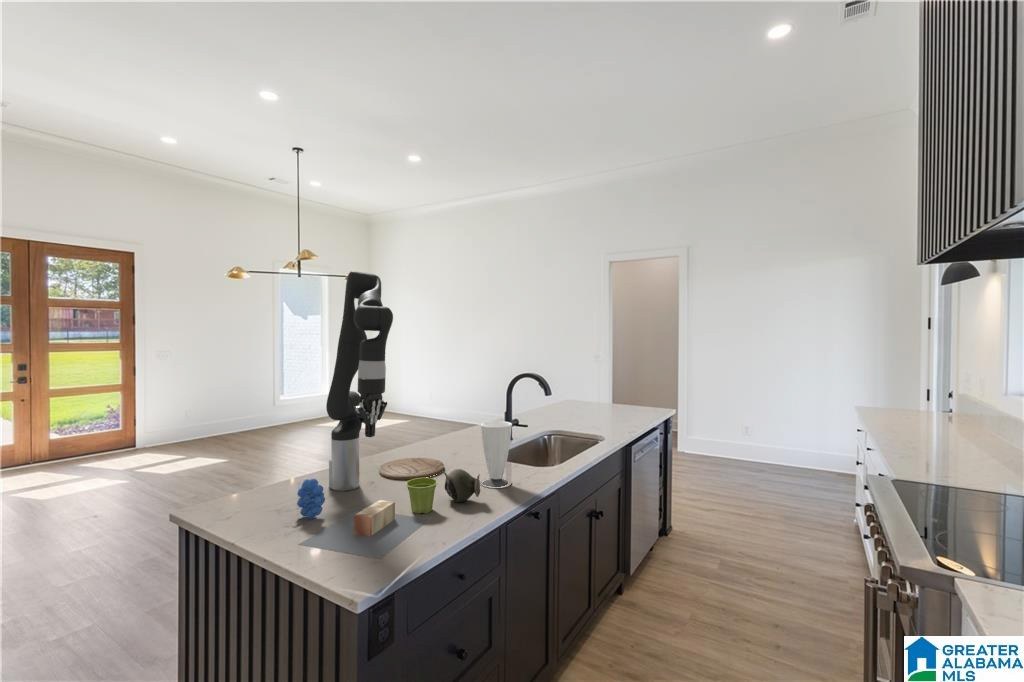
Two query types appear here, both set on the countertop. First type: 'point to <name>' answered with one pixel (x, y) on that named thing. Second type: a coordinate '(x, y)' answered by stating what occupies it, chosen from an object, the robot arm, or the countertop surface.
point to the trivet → (411, 468)
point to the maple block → (374, 518)
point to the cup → (496, 450)
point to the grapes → (311, 498)
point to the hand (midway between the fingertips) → (369, 436)
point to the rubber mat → (374, 546)
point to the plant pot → (421, 494)
